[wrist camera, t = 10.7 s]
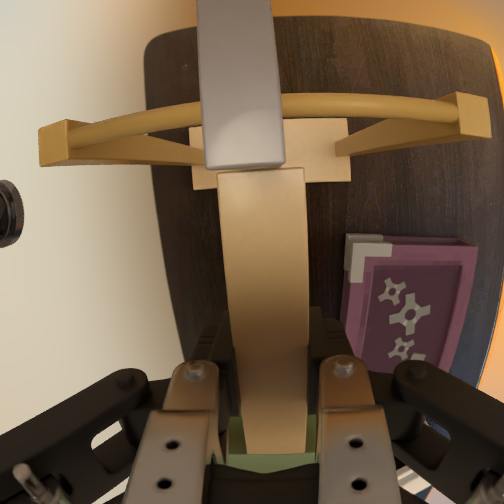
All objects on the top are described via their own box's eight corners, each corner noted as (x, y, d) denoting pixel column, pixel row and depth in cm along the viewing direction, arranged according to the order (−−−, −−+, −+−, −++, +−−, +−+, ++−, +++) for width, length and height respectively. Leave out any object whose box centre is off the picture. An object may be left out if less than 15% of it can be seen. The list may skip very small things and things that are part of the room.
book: (342, 233, 35) (353, 243, 30) (458, 236, 34) (479, 246, 29) (323, 405, 41) (327, 428, 37) (421, 395, 40) (432, 415, 36)
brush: (322, 473, 14) (332, 575, 7) (235, 475, 15) (220, 576, 8) (325, 53, 9) (381, -71, 2) (185, 64, 10) (84, -37, 3)
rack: (191, 129, 33) (39, 68, 9) (344, 119, 32) (474, 35, 7) (196, 189, 35) (46, 234, 11) (348, 180, 34) (493, 210, 9)
